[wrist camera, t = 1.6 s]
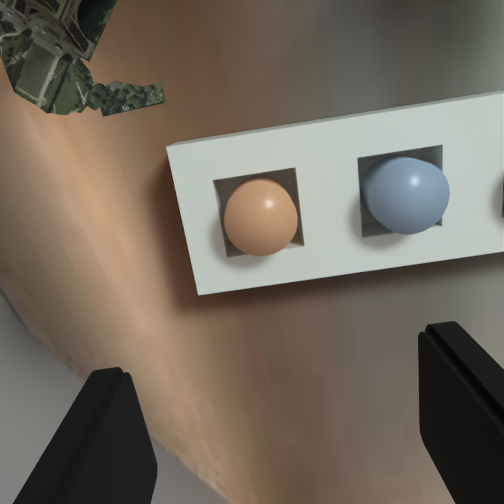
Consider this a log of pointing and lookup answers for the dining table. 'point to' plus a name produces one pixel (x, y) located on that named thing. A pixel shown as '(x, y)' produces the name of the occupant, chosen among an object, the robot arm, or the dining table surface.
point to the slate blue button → (405, 193)
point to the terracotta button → (260, 216)
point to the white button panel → (344, 191)
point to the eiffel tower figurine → (63, 57)
